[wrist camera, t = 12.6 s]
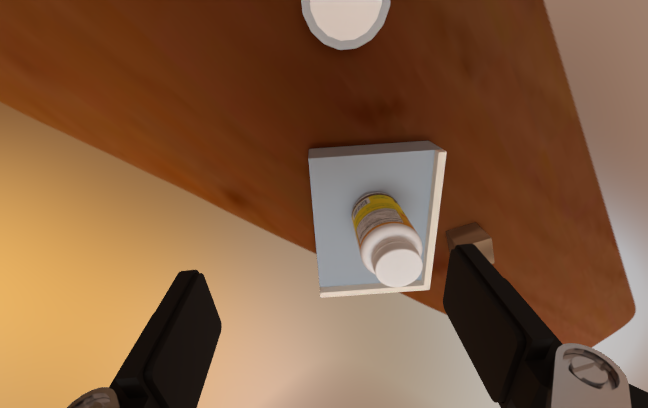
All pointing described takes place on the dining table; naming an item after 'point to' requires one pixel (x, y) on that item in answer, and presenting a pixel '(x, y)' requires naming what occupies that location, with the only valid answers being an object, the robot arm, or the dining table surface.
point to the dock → (359, 180)
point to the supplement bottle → (387, 240)
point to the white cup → (345, 20)
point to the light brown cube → (471, 239)
